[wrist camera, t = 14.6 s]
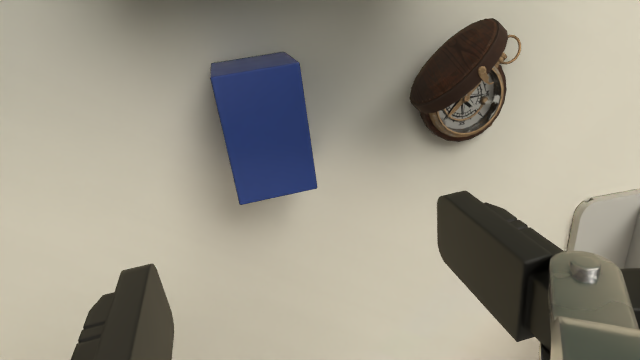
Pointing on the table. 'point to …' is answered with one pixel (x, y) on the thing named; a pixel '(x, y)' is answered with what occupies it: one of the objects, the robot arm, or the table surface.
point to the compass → (464, 82)
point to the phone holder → (609, 228)
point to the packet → (264, 125)
